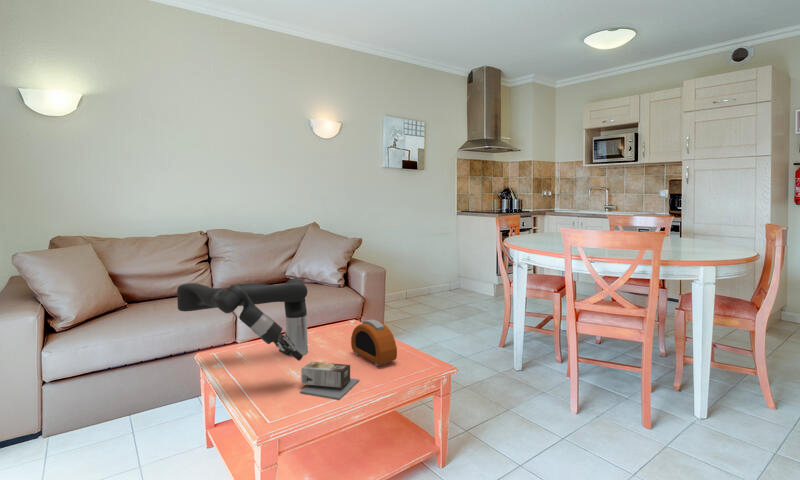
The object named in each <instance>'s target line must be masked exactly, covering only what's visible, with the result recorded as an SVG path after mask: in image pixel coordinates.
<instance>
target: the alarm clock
mask: <svg viewBox="0 0 800 480" xmlns="http://www.w3.org/2000/svg"><path fill="white" fill-rule="evenodd" d="M350 345H351V346H350V347H351V350H352V351H353V352H354V353H355V355H356V356H359V355H360V356H361V357H364V358H365V359H367V360H369V361H370V362H372V363H375V364H374V365H375V366H376V367H378V366H382V365H385V364H388V363H391V362H393V361H395V360H396V359H397V358H398V357H397V356H398V347H397V344H396V340H395V337H394V334H393V333H392V332H391V330H390V328H389V327H388V326H387V325H386V324H384V323H383V322H381V321H378V320H377V319H368V320H367V319H366V320H363V321H362V323H361V324H358V325H356V326H355V327H354V329H353V331H352V333H351V337H350Z"/></svg>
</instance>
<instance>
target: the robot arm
mask: <svg viewBox="0 0 800 480" xmlns="http://www.w3.org/2000/svg"><path fill="white" fill-rule="evenodd" d="M176 290H177V291H176V294H177V295H176V296H177V300H176V301H177V309H178V311H180V312H193V311H195V312H196V311H202V310H209V309H219V310H220V311H221V312H223V313H225V314H231V313H233V312H234V311H235V310H236V309H237V308H238V307H242V310H241V312H240V314H239V316H238V318H239V320H240V322H242V323H244V325H246V326H247V327H248V328H249V329H250V330H251V331H252V332H253V333H254V334H255V335H256V336H257V337H259V338H260V339H261V340H262V341H264V342H265V343H266V345H267V344H268V345H271V343H274V345H275V347H277V349H278V352H279V353H282V354H284V355H286V356H288V357H294V358H295V360H297V361H299V362H300V361H301V360H302V359H303V357H304V355H306V354H308V353H309V345H308V342H309V341H308V339H309V338H308V313H307V303H306V297H308V288H307V285H306V284H305V283H304V282H303V281H302V280H300V279H298V278H290V279H289V280H287V281H286V283H283V284H264V283H256V282H255V283H254V282H253V283H250V282H249V283H238V284H231V285H230V286H229V287H228V288H227V289H224V288H218V287H209V286H207V285H204V284H200V283H197V282H196V283H182V284H180V285H179V286H178V287H177V289H176ZM278 302H279V303H283V304H284V314H285V332H284V333H283V334H282V332H283V327H281V326H280V324H278V323H277V322H276V321H275V320H273V319H272V318H271V317H270V316H268V315H267V314H265V313H264V312H263V311H262V310H261V309H259V307H257V306H256V305H261V304H263V305H264V304H270V303H278Z"/></svg>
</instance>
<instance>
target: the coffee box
mask: <svg viewBox="0 0 800 480" xmlns="http://www.w3.org/2000/svg"><path fill="white" fill-rule="evenodd" d="M300 371H301V372H300V373H301V374H300V375H301V377H300V378H301V382H300V384H301V385H306V386H307V385H317V386H327V387H337V388H343V387H344V386H345V385H346V384H347V383H348V382H350V378H351V364H343V363H342V364H341V363H331V362H320V361H310V362H309V363H306V365H303V366H302V367H301V370H300Z"/></svg>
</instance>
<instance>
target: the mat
mask: <svg viewBox="0 0 800 480" xmlns="http://www.w3.org/2000/svg"><path fill="white" fill-rule="evenodd" d="M359 382H360V379H358V378H351V377H350V382H348V383H347V384H346V385H345V386H344V387H343V388H337V387H327V386H317V385H307V384H306V386H305V387H303V388H302V389H301V390H300V391H299V393H300V394H304V395H309V396H316V397H322V398H327V399H332V400H339V401H340V400H341V399H343V397H344V396H345V395H347V394H348V393H349V392H350V391H351V389H353V387H355V386H356V385H357V384H358V383H359Z"/></svg>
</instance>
